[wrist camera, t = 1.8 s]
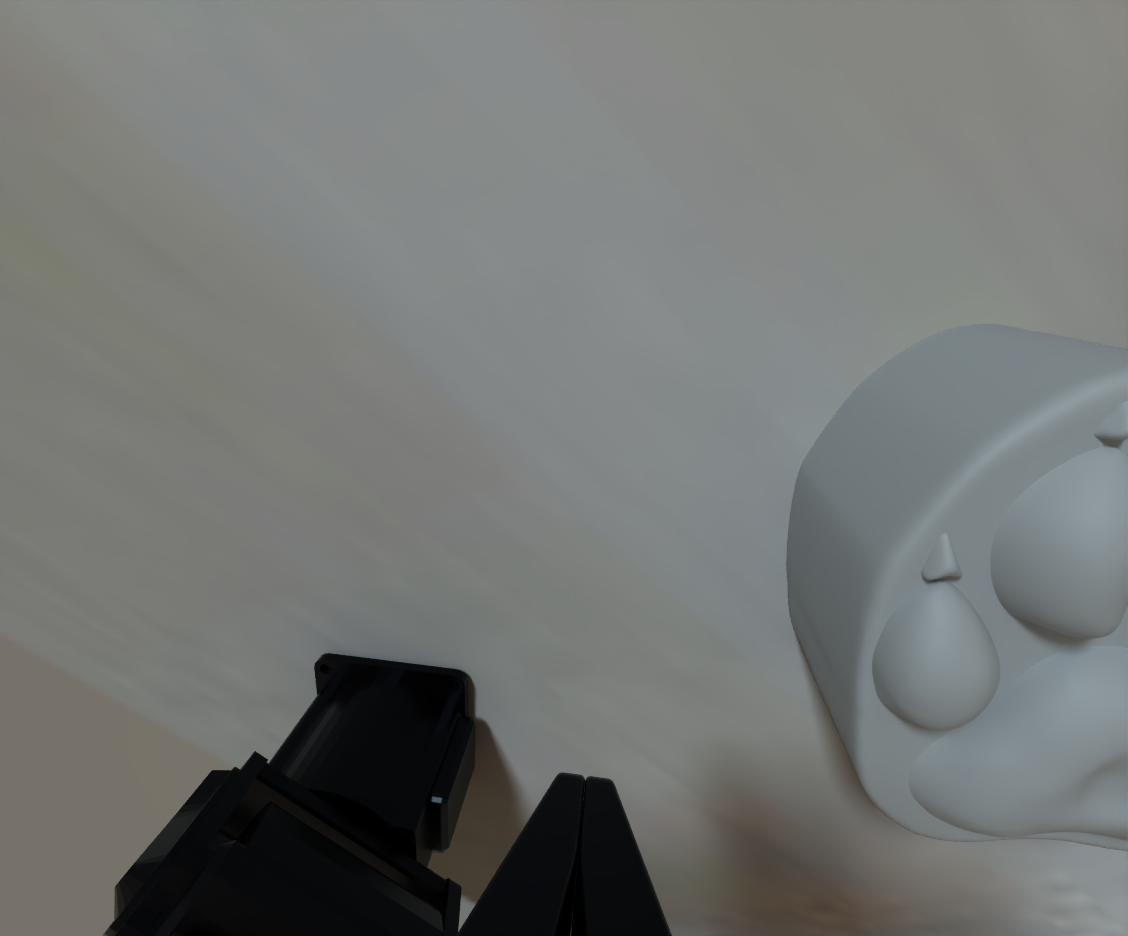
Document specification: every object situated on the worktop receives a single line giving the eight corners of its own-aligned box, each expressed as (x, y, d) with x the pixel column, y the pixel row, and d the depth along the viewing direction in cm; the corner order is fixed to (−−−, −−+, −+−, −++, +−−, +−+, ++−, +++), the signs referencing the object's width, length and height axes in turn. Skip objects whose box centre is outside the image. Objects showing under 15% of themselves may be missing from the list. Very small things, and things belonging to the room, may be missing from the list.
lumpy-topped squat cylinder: (778, 669, 23) (857, 894, 15) (801, 332, 19) (930, 391, 11) (1069, 675, 22) (1329, 924, 14) (1167, 314, 17) (1632, 365, 9)
